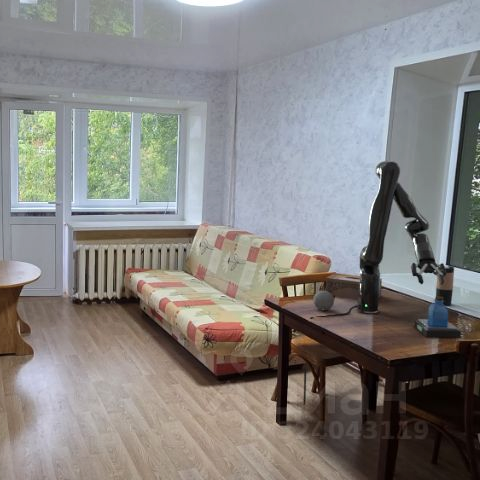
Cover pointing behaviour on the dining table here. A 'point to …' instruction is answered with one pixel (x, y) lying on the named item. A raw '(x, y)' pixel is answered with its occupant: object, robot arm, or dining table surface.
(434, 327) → the scale pan
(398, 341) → the dining table surface
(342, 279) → the tissue box cover
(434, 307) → the perfume bottle
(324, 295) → the decorative ball
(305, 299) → the dining table surface
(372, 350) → the dining table surface
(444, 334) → the scale
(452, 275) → the travel mug
